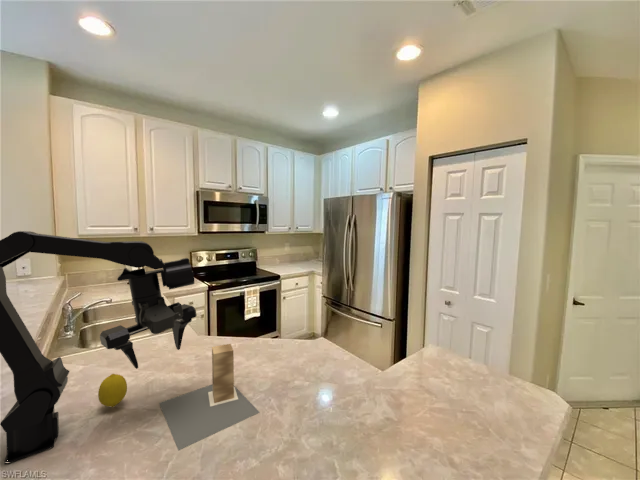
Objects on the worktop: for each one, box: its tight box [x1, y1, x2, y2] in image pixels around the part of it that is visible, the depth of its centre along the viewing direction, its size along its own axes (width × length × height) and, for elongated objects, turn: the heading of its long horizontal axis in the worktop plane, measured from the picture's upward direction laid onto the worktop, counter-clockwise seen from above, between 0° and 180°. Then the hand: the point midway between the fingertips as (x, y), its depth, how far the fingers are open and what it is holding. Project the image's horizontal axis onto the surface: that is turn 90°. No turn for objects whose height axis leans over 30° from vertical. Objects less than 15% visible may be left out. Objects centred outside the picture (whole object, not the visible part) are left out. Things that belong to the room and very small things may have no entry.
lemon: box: [97, 373, 128, 408], centre depth 66 cm, size 6×6×8 cm
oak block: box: [211, 343, 235, 403], centre depth 69 cm, size 5×5×12 cm
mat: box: [158, 384, 260, 451], centre depth 65 cm, size 17×19×1 cm
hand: (158, 358), depth 65 cm, fingers open, 9 cm apart
